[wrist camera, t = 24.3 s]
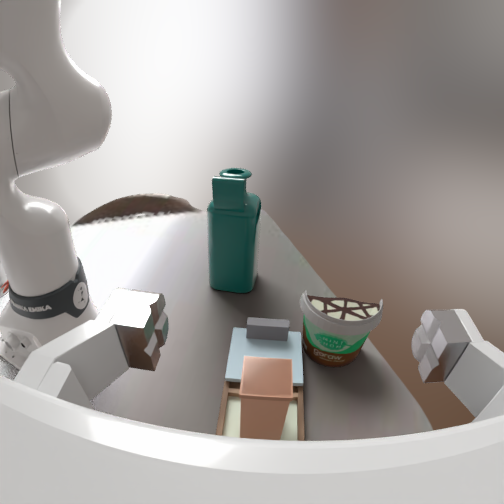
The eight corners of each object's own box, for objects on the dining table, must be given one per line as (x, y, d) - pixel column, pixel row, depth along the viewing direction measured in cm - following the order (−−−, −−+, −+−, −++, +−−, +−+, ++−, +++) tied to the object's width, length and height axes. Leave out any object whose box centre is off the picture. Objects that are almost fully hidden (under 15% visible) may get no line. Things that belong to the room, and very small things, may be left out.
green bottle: (218, 265, 67) (217, 161, 55) (258, 271, 66) (264, 165, 54) (204, 293, 58) (200, 177, 47) (250, 300, 57) (255, 181, 46)
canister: (238, 443, 33) (239, 394, 27) (242, 410, 37) (243, 355, 31) (279, 445, 32) (292, 398, 27) (280, 412, 37) (292, 359, 31)
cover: (225, 380, 39) (224, 364, 38) (233, 330, 48) (233, 313, 46) (302, 386, 39) (306, 370, 37) (300, 335, 47) (303, 318, 46)
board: (212, 461, 31) (211, 456, 30) (232, 338, 49) (232, 331, 48) (302, 467, 30) (304, 463, 29) (299, 342, 48) (300, 336, 48)
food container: (288, 367, 44) (298, 317, 39) (293, 338, 49) (301, 288, 44) (370, 376, 42) (391, 328, 37) (367, 347, 47) (385, 299, 42)
